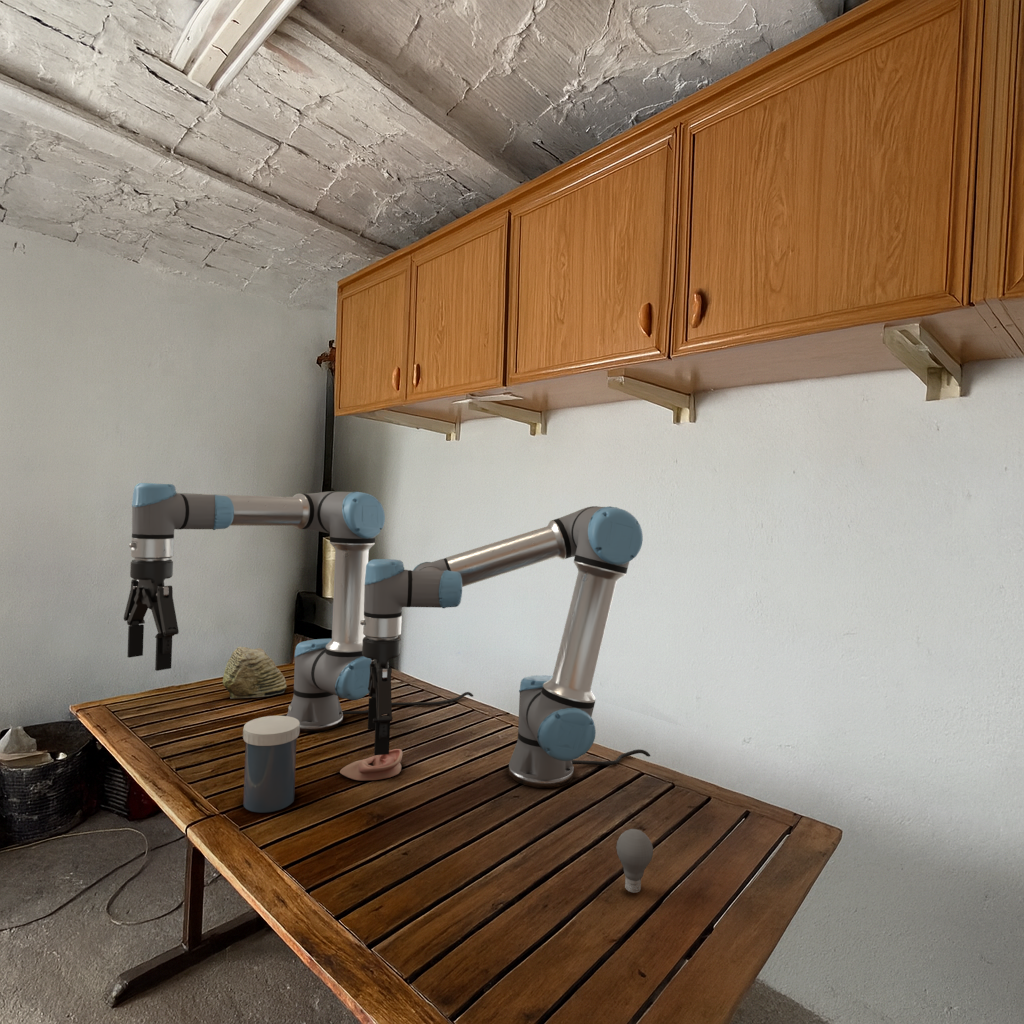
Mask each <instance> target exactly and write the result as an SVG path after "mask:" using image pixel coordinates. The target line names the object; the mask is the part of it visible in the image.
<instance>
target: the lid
mask: <svg viewBox="0 0 1024 1024" xmlns="http://www.w3.org/2000/svg"><path fill="white" fill-rule="evenodd" d="M300 733H301V731H300V723H299V720H297V719H296V718H293V717H289V716H286V715H267V716H262V717H261V716H260V717H258V718H254V719H251V720H248V721H247V722H245V724H244V725H243V729H242V738H243V741H244V742H245V743H248V744H251V745H257V746H273V745H279V744H284V743H287V742H290V741H292V740H294V739H296V738H297V739H298V737H299V735H300Z"/></svg>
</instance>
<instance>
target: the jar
mask: <svg viewBox="0 0 1024 1024" xmlns="http://www.w3.org/2000/svg"><path fill="white" fill-rule="evenodd" d="M297 739H298V737H297V738H296V739H294V740H292V741H290V742H287V743H284V744H279V745H273V746H257V745H251V744H248V743H246V742H245V744H244V745H245V747H244V748H245V749H244V770H243V771H244V773H243V774H244V776H243V801H242V803H243V808H244V809H245V810H247V811H249V812H252V813H261V814H264V813H273V812H277V811H281V810H283V809H286V808H287V807H289V806H290V805H292V804H293V803H294V801H295V793H296V769H297V768H296V765H297V764H296V763H297Z"/></svg>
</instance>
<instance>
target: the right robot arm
mask: <svg viewBox="0 0 1024 1024" xmlns="http://www.w3.org/2000/svg"><path fill="white" fill-rule="evenodd" d="M643 542H644V534H643V529H642V526H641V524H640V523H639V521H638V519H637V518H636V516H634V515H633V514H632V513H631V512H629V511H628V510H626V509H623V508H619V507H617V506H609V505H608V506H598V505H597V506H594V505H593V506H587V507H584V508H581V509H579V510H576V511H573V512H572V513H569V514H566V515H564V516H561V517H558V518H554V519H552V520H549V522H548V525H547V526H544V527H540V528H537V529H534V530H531V531H527V532H525V533H521V534H518V535H515V536H512V537H508V538H505V539H502V540H498V541H495V542H492V543H489V544H485V545H482V546H479V547H476V548H473V549H469V550H466V551H463V552H459V553H456V554H453V555H450V556H446V557H444V558H440V559H437V560H434V561H424V562H420V563H419V564H417V565H416V566H414V568H413V569H412V570H411V569H405V565H404V562H403V561H402V560H400V559H391V558H375V559H371V560H368V563H367V565H366V574H365V587H364V619H365V620H361V621H360V624H361V625H364V626H363V634H364V635H365V637H364V638H363V643H362V655H363V656H364V657H366V658H369V659H371V664H370V677H369V687H368V691H369V693H368V709H367V710H368V713H367V714H368V715H367V730H368V731H370V730H371V731H372V730H374V731H375V732H374V747H373V748H374V750H373V751H374V752H373V756H375V755H385V754H389V751H390V738H391V736H390V735H391V722H392V721H393V709H392V707H393V706H392V703H393V702H392V701H393V700H392V673H393V670H392V669H393V668H392V666H391V663H390V662H389V660H391V659H396V658H397V657H399V656H400V655H401V640H402V639H401V638H400V637H401V635H402V625H403V623H402V621H403V614H402V610H403V608H441V609H447V608H457V607H459V606H460V605H461V602H462V598H463V588H464V587H467V586H470V585H473V584H476V583H479V582H482V581H486V580H489V579H492V578H495V577H498V576H501V575H505V574H509V573H512V572H515V571H517V570H520V569H524V568H527V567H530V566H533V565H537V564H540V563H543V562H546V561H549V560H552V559H556V558H558V559H560V560H563V561H564V560H567V559H570V558H573V557H574V558H573V563H574V566H575V567H576V569H577V571H578V572H577V574H576V575H577V576H576V579H575V584H574V588H573V592H572V596H571V600H570V603H569V608H568V612H567V616H566V619H565V623H564V627H563V632H562V636H561V640H560V644H559V649H558V652H557V657H556V661H555V665H554V669H553V674H552V675H547V674H542V675H541V674H540V675H539V674H537V675H529V676H525V677H523V678H522V679H521V680H520V686H519V690H518V692H519V698H518V699H519V701H518V726H517V741H516V744H515V746H514V749H513V752H512V754H511V757H510V759H509V762H508V775H509V777H510V778H511V779H512V780H513V781H515V782H516V783H519V784H521V785H523V786H528V787H531V788H539V789H551V788H552V789H553V788H558V787H562V786H565V785H567V784H569V783H571V782H572V780H573V778H574V765H583V766H584V765H585V766H604V767H605V766H614V765H617V764H619V763H620V762H621V761H622V760H623V759H625V758H627V757H630V756H633V755H637V754H643V755H644V756H645V757H648V758H649V757H651V754H650V752H648V751H647V750H644V749H633V750H630V751H627V752H625V753H621V754H620V755H618V757H617V758H616V759H614V760H609V761H603V760H601V761H600V760H583V759H582V760H579V758H580V757H582V756H584V755H586V753H588V752H589V750H590V749H591V748H592V746H593V744H594V742H595V739H596V735H597V733H596V731H597V730H596V726H595V725H596V724H595V722H594V721H595V720H593V718H592V717H593V712H594V708H595V705H596V696H595V695H594V693H593V691H592V686H593V682H594V677H595V673H596V669H597V665H598V661H599V656H600V653H601V648H602V645H603V641H604V636H605V633H606V628H607V624H608V620H609V615H610V611H611V608H612V604H613V600H614V596H615V591H616V588H617V583H618V581H620V580H621V579H622V578H624V577H626V576H627V573H628V568H629V565H630V562H631V561H632V560H633V559H635V558H636V557H637V556H638V555H639V553H640V552H641V549H642V547H643ZM577 759H578V760H577Z"/></svg>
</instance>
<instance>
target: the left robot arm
mask: <svg viewBox="0 0 1024 1024" xmlns="http://www.w3.org/2000/svg"><path fill="white" fill-rule="evenodd" d="M385 515H386V513H385V511H384V508H383V505H382V503H381V502H380V501H379V500H378V498H377V497H375V495H373V494H370V493H367V492H363V491H362V492H361V491H337V490H336V491H335V490H333V491H332V490H330V491H321V492H311V493H295V494H294V495H293V496H276V495H275V496H274V495H273V496H272V495H248V494H247V495H246V494H244V495H243V494H220V493H219V494H218V493H217V494H216V493H215V494H214V493H189V492H187V493H186V492H177V491H176V486H175V485H174V484H173V483H152V482H139V483H137V484H136V485H135V486H134V488H133V492H132V501H131V520H132V521H131V542H130V543H128V547H129V548H130V549H131V550H130V556H131V558H133V559H132V560H131V561H130V567H129V568H130V571H129V574H130V575H129V576H130V578H131V581H130V590H129V594H128V598H127V603H126V607H125V610H124V615H123V621H124V622H126V624H127V626H128V629H127V630H128V631H127V658H135V657H142V656H144V635H145V634H144V630H145V625H144V624H145V623H146V621H145V619H144V618H145V616H146V615H147V612H148V609H149V610H151V613H152V618H153V620H154V624H155V627H156V631H157V633H156V635H155V636H154V638H155V661H154V663H155V665H154V668H155V669H154V670H155V671H157V672H159V671H164V670H169V669H172V659H173V657H172V655H173V637H175V636H176V635H179V632H180V631H179V625H178V619H177V615H176V614H177V613H176V609H175V603H174V597H173V595H174V593H173V585H165V580H167V579H171V578H172V577H173V575H174V573H173V572H174V561H173V560H172V559H171V558H173V557H174V554H175V553H174V552H175V530H213V531H215V530H224V529H228V528H230V526H233V527H234V526H237V527H238V526H240V527H243V526H246V527H247V526H249V527H250V526H258V527H259V526H268V527H269V526H276V527H277V526H282V527H284V526H285V527H286V526H287V527H288V526H289V527H290V526H291V527H293V528H294V529H296V530H308V531H309V530H310V531H316V532H319V533H325V534H329V544H330V545H331V546H332V547H333V548H334V550H335V551H334V572H333V573H334V577H333V599H332V625H331V626H332V627H331V638H317V639H308V640H304V641H300V642H299V643H297V645H296V646H295V650H294V655H293V657H294V672H293V673H294V674H293V695H292V696H293V697H292V699H291V702H290V704H289V705H288V708H287V709H288V711H287V713H286V715H285V716H289V717H293V718H296V719H297V720H299V723H300V733H316V732H325V731H329V730H332V729H335V728H337V727H339V726H340V725H342V723H343V722H344V716H347V715H364V714H365V715H366V714H368V709H365V710H347V711H345V710H344V711H343V709H342V706H341V702H340V699H339V698H341V699H342V700H343V699H344V700H348V701H349V700H350V701H357V700H360V699H362V698H364V697H365V696H367V695H369V691H368V687H369V677H370V664H371V659H369V658H366V657H364V656H363V655H362V643H363V638H364V637H365V635H364V634H363V626H364V625H361V624H360V621H361V620H365V619H364V587H365V574H366V565H367V563H368V562H369V555H370V553H369V552H370V550H371V548H372V547H374V545H375V544H376V536H378V535H379V534H380V533H381V530H383V528H384V526H385V522H386V521H385V520H386V516H385ZM465 696H469V697H474V694H473V693H472V692H471V691H465V692H463V693H461V694H460V695H458V696H457V697H454V698H450V699H446V700H440V701H439V700H438V701H421V702H420V701H410V702H409V701H408V702H401V701H400V702H392V707H394V706H401V707H402V706H403V707H404V706H438V705H444V704H450V703H453V702H457V701H459V700H461V699H463V698H464V697H465Z"/></svg>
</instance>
